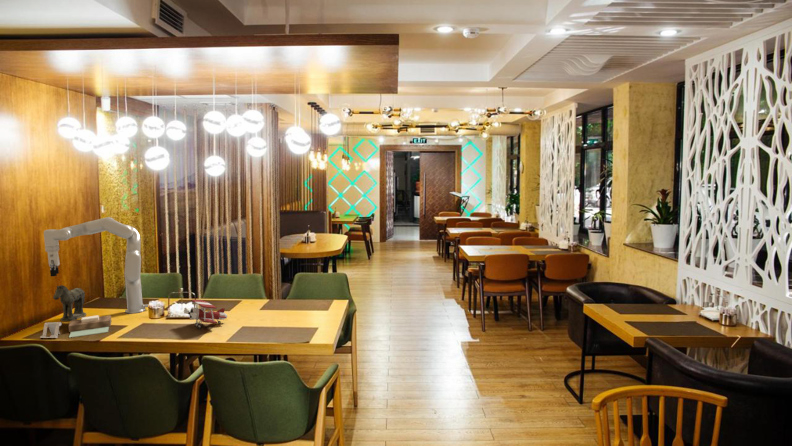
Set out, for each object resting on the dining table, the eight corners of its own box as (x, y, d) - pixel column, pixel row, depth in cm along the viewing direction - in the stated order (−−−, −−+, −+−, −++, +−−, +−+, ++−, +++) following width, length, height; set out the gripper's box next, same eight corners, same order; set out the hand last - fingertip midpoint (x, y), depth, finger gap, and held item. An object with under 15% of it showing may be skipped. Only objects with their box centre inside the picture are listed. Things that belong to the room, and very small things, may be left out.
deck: (111, 321, 338) (110, 315, 337) (110, 326, 325) (110, 320, 325) (71, 326, 328) (70, 320, 327) (69, 332, 315) (68, 326, 315)
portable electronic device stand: (40, 339, 303) (39, 325, 303) (48, 335, 311) (47, 321, 310) (55, 339, 304) (54, 325, 303) (63, 334, 311) (62, 321, 311)
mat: (108, 327, 324) (108, 326, 324) (107, 332, 314) (107, 331, 314) (71, 332, 315) (70, 331, 315) (68, 337, 305) (68, 337, 305)
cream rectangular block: (99, 318, 331) (98, 315, 331) (98, 320, 325) (98, 317, 325) (82, 320, 327) (82, 317, 327) (81, 322, 321) (81, 319, 321)
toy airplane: (231, 334, 315) (236, 309, 316) (192, 331, 302) (197, 305, 303) (217, 325, 337) (221, 302, 338) (180, 322, 323) (185, 298, 325)
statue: (60, 325, 331) (57, 287, 329) (46, 325, 333) (42, 286, 331) (90, 315, 356) (87, 278, 353) (77, 314, 358) (73, 278, 355)
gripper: (57, 249, 331) (59, 276, 332) (60, 246, 346) (63, 272, 348) (43, 250, 327) (45, 277, 329) (47, 247, 343) (49, 273, 345)
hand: (54, 274), depth 339 cm, fingers open, 9 cm apart
